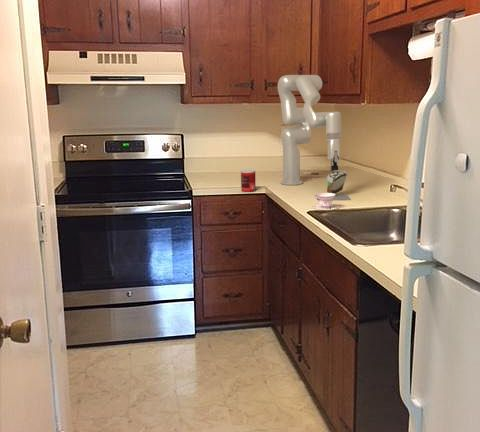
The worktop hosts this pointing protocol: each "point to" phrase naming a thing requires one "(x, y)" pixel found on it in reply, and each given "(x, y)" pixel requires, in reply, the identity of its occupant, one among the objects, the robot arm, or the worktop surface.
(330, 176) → the food container
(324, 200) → the teacup
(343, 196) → the mat
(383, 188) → the worktop surface
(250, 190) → the canned food
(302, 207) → the worktop surface
